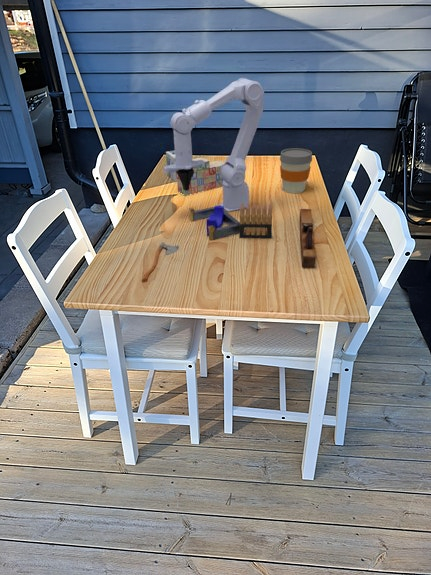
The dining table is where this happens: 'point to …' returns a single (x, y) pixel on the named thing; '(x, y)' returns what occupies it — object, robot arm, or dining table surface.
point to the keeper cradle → (213, 233)
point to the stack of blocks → (203, 177)
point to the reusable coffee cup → (295, 169)
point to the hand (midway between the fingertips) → (186, 189)
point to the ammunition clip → (256, 222)
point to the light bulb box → (171, 160)
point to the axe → (168, 251)
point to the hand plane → (307, 239)
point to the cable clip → (216, 218)
